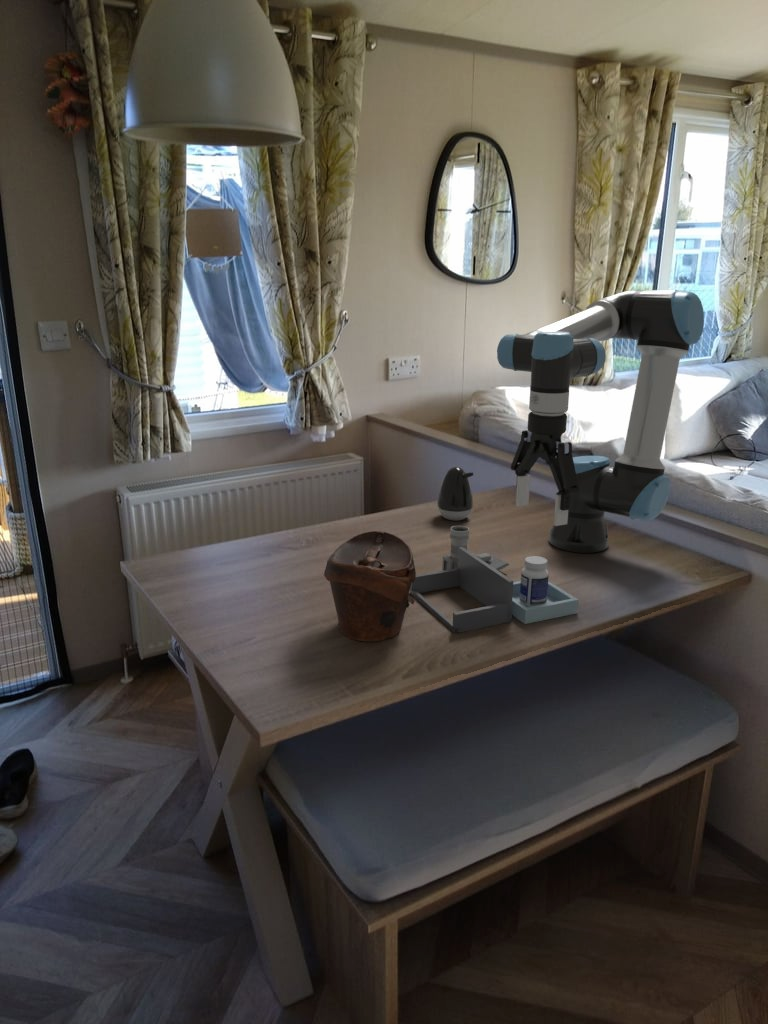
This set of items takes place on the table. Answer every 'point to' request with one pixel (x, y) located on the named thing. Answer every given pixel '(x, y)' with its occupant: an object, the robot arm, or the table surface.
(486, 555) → the camera
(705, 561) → the table surface
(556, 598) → the tray
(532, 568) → the pill bottle
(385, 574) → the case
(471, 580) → the stand
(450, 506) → the pump dispenser
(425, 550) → the table surface
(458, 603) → the table surface
